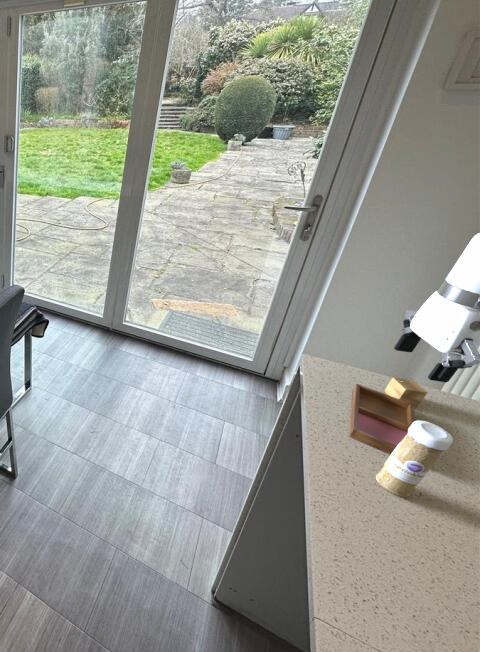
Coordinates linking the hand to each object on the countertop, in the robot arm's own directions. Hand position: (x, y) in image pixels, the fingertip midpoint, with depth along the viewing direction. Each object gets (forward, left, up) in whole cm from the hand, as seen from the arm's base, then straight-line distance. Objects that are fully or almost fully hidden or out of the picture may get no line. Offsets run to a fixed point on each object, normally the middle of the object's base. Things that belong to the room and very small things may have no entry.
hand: (418, 364), depth 86 cm
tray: (+9, +10, -9) cm, 16 cm away
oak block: (0, 0, -9) cm, 9 cm away
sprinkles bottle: (+17, +26, -9) cm, 32 cm away
